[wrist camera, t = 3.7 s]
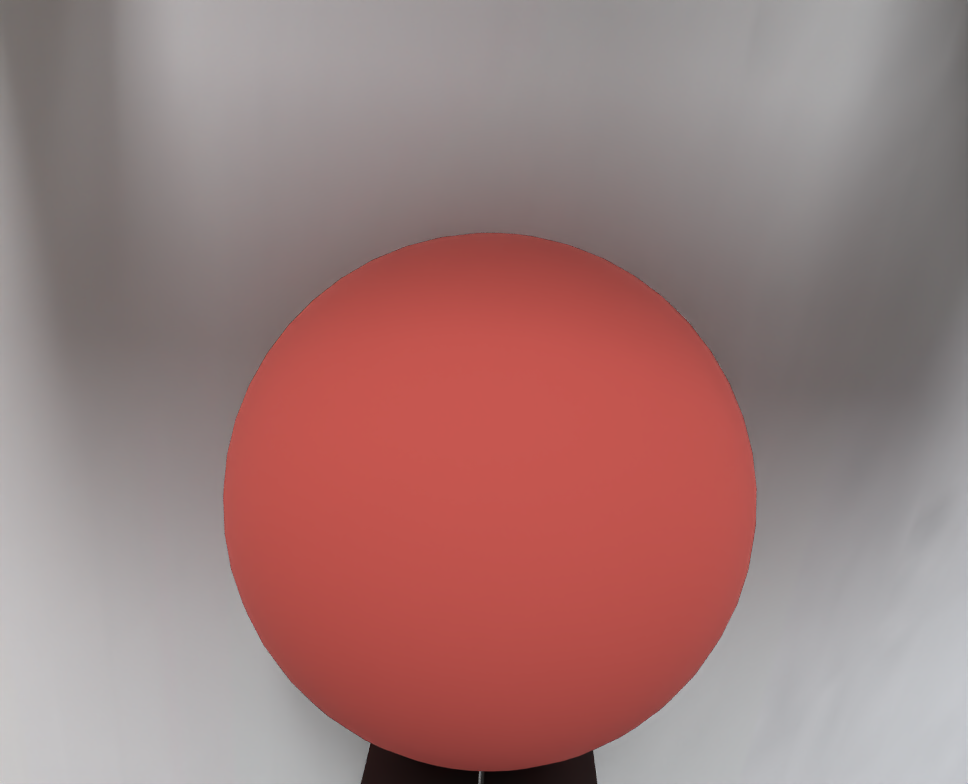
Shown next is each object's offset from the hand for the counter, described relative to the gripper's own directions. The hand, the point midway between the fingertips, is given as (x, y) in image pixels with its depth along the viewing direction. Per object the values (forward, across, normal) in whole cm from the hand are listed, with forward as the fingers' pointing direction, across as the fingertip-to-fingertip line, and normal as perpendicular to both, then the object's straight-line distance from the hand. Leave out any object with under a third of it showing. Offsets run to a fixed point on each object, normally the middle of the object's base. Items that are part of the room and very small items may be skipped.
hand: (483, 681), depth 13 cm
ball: (-2, 0, -4) cm, 5 cm away
